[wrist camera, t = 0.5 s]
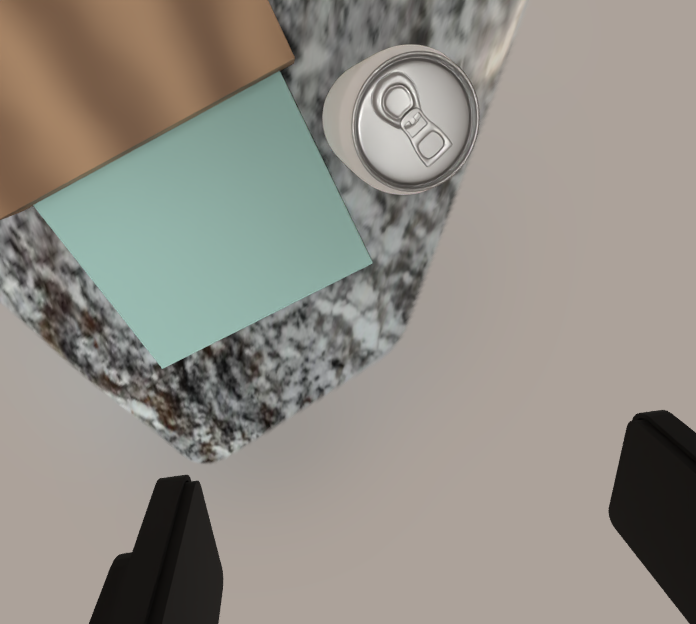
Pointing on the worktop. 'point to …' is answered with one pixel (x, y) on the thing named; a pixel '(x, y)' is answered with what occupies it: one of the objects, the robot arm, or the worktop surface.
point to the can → (402, 119)
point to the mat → (211, 223)
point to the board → (116, 79)
